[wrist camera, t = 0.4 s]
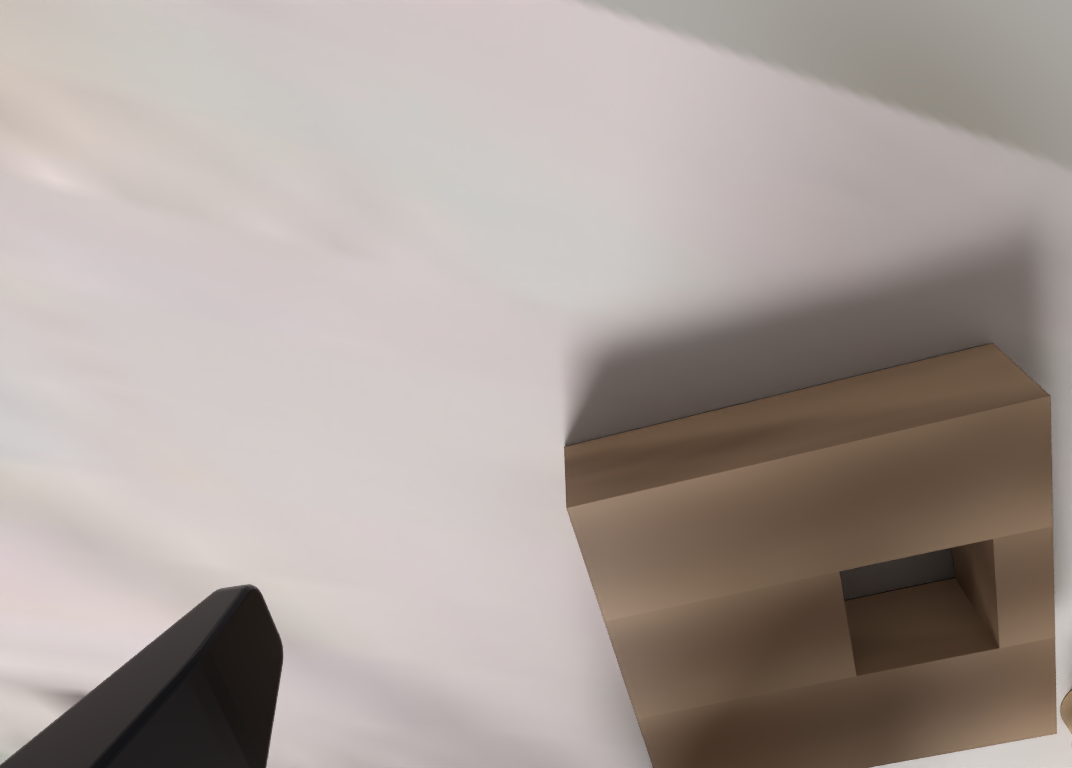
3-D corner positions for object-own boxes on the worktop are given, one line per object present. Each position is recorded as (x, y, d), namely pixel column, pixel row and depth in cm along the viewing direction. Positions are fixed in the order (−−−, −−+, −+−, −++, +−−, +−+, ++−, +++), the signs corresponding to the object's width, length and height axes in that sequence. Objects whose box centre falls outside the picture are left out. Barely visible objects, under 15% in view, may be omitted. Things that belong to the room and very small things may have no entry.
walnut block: (1009, 659, 29) (1057, 733, 26) (654, 727, 30) (665, 804, 28) (992, 343, 23) (1050, 396, 21) (564, 446, 25) (566, 508, 22)
